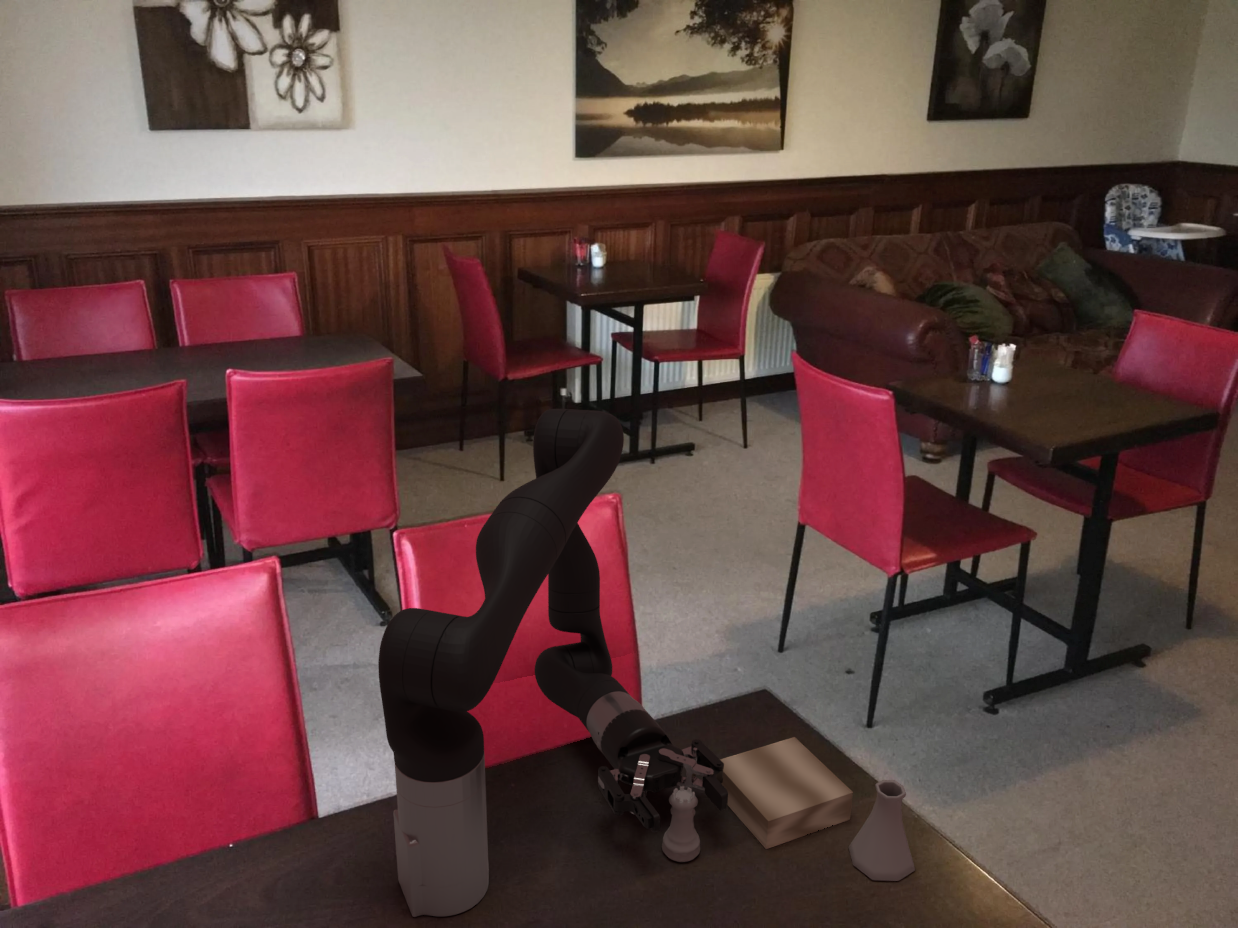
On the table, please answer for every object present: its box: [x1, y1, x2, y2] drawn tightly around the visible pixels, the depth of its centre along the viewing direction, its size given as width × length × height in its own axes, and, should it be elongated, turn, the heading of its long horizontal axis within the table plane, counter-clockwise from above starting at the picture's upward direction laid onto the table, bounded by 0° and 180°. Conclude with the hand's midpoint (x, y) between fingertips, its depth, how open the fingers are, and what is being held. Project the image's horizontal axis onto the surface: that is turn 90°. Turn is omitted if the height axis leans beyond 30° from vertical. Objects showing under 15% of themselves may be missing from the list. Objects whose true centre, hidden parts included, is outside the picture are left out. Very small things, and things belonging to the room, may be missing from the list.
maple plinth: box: [719, 736, 854, 850], centre depth 126 cm, size 12×12×4 cm
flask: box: [848, 779, 916, 882], centre depth 116 cm, size 7×7×10 cm
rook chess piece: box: [661, 786, 701, 863], centre depth 117 cm, size 4×4×8 cm
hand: (691, 814), depth 115 cm, fingers open, 8 cm apart
